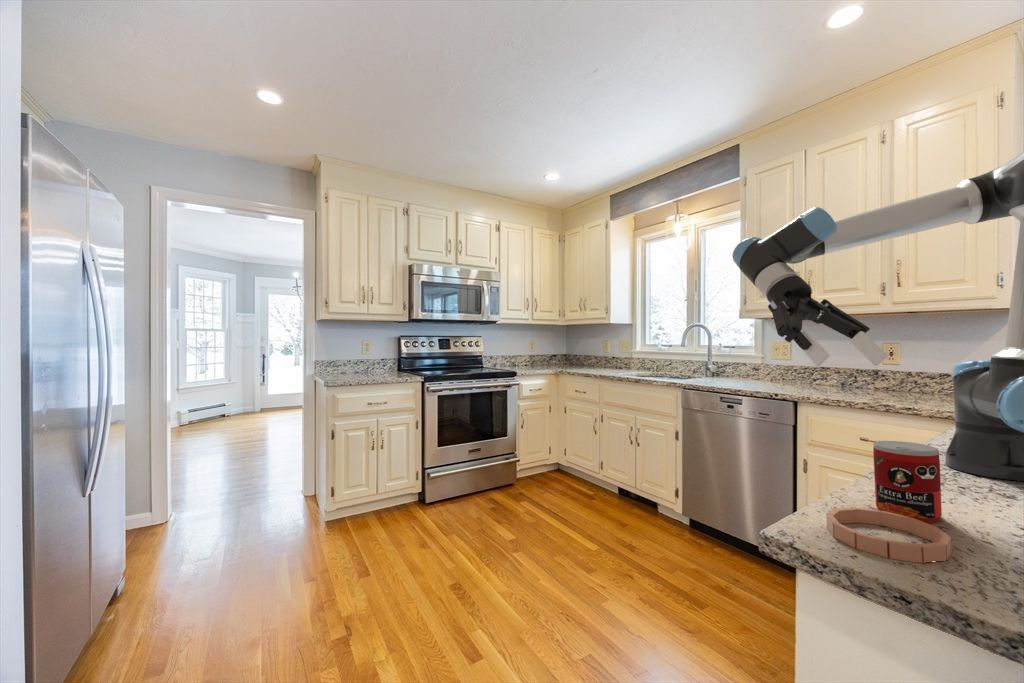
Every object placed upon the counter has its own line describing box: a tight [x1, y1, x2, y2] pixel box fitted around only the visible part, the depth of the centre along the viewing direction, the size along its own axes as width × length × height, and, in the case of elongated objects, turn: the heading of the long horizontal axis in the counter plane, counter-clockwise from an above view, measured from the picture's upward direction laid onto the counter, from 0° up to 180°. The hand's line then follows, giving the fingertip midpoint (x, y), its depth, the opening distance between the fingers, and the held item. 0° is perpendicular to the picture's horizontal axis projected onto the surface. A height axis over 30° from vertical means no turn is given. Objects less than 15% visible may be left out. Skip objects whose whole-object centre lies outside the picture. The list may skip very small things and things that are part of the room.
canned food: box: [872, 440, 943, 524], centre depth 66 cm, size 8×8×11 cm
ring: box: [826, 506, 952, 564], centre depth 58 cm, size 13×13×2 cm
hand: (853, 361), depth 75 cm, fingers open, 13 cm apart
